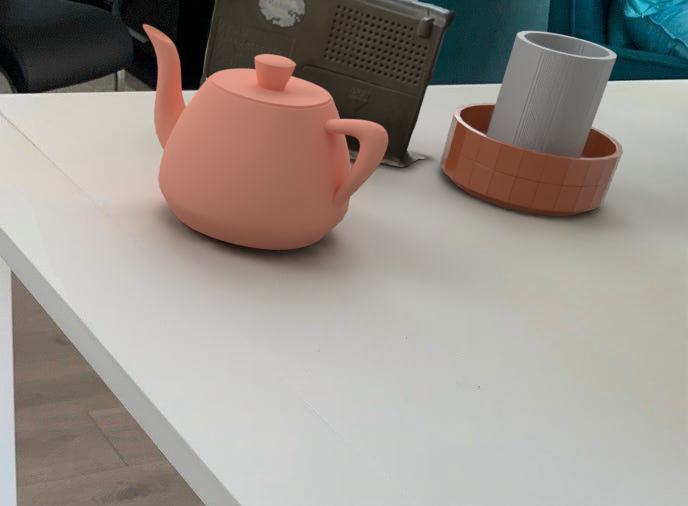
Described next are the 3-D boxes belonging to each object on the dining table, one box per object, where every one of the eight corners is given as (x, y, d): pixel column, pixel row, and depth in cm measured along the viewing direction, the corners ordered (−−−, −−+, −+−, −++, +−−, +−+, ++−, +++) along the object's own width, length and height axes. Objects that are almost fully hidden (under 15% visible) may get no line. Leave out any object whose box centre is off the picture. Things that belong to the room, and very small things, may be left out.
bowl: (615, 194, 105) (638, 137, 101) (577, 235, 93) (601, 172, 90) (467, 149, 109) (484, 93, 106) (414, 182, 98) (430, 121, 94)
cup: (457, 169, 100) (497, 32, 93) (510, 159, 106) (552, 29, 98) (533, 202, 96) (582, 62, 88) (585, 190, 101) (635, 56, 93)
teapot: (77, 199, 83) (86, 28, 75) (180, 162, 93) (198, 9, 85) (313, 291, 75) (352, 113, 67) (397, 241, 86) (439, 80, 78)
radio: (427, 158, 105) (472, -9, 95) (411, 181, 98) (458, 4, 89) (214, 104, 109) (237, -62, 99) (186, 122, 102) (207, -53, 92)
